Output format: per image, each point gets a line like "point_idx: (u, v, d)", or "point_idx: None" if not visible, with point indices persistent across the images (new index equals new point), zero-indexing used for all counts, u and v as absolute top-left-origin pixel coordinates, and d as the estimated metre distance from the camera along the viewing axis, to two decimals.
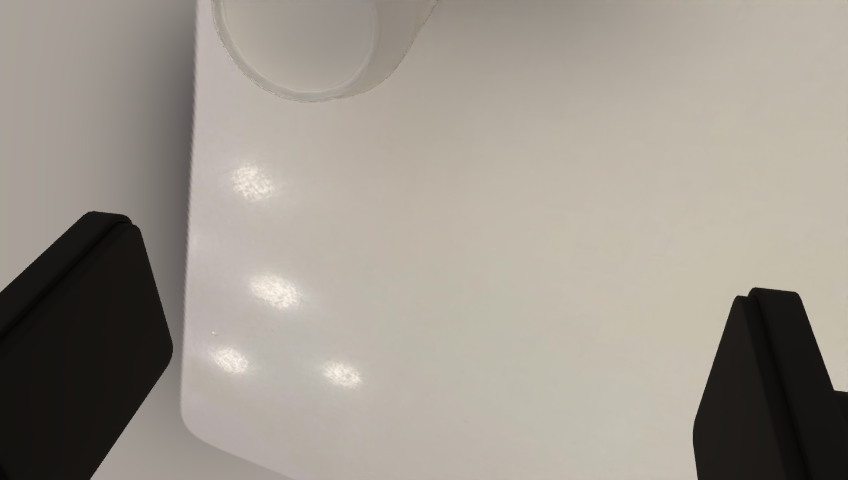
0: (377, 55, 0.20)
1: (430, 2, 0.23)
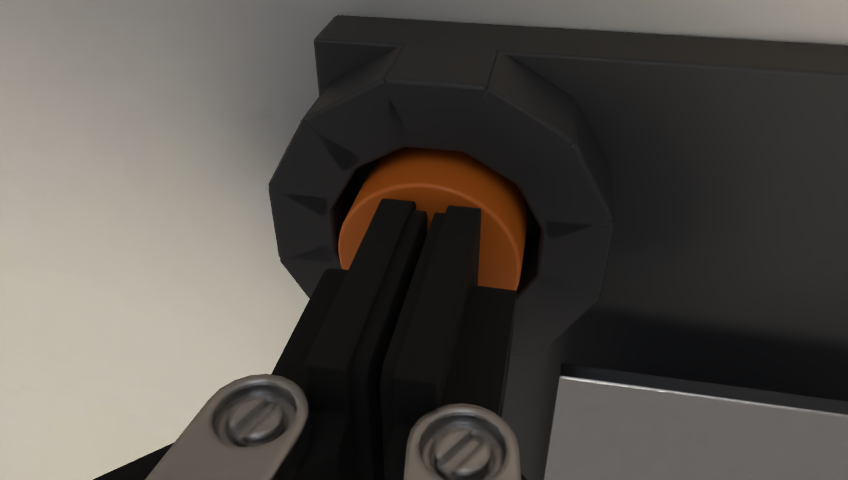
0: None
1: None
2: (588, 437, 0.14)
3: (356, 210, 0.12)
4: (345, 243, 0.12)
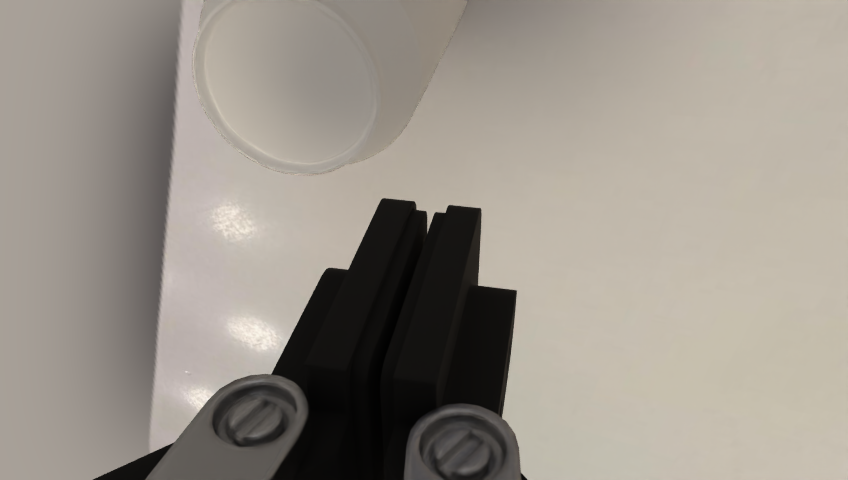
0: (377, 128, 0.18)
1: (436, 62, 0.21)
2: None
3: None
4: None
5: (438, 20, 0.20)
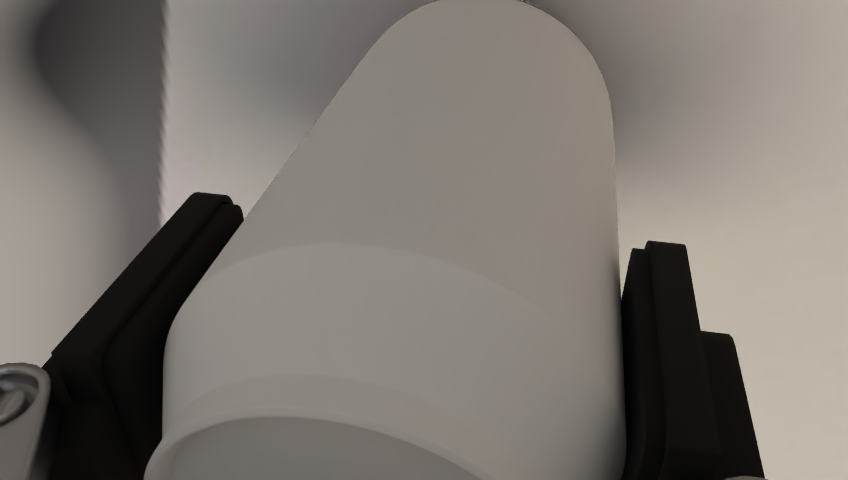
0: None
1: None
2: None
3: None
4: None
5: (620, 300, 0.11)
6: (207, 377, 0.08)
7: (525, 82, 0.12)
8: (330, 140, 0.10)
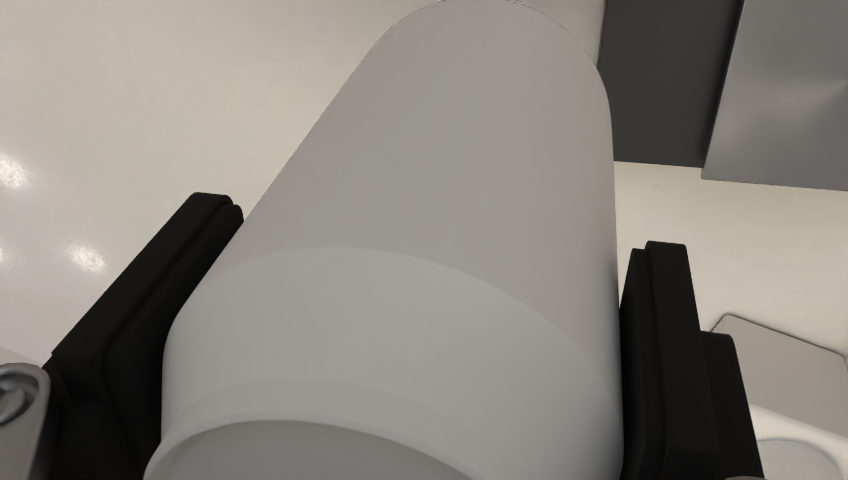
0: None
1: None
2: None
3: None
4: None
5: (618, 302, 0.11)
6: (206, 380, 0.08)
7: (524, 85, 0.12)
8: (329, 143, 0.10)
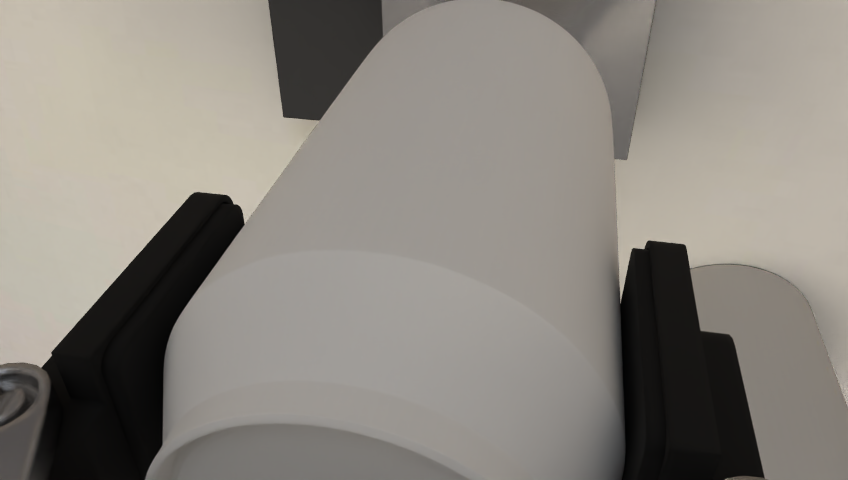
0: None
1: None
2: None
3: None
4: None
5: None
6: (208, 383, 0.08)
7: (525, 87, 0.12)
8: (330, 145, 0.10)
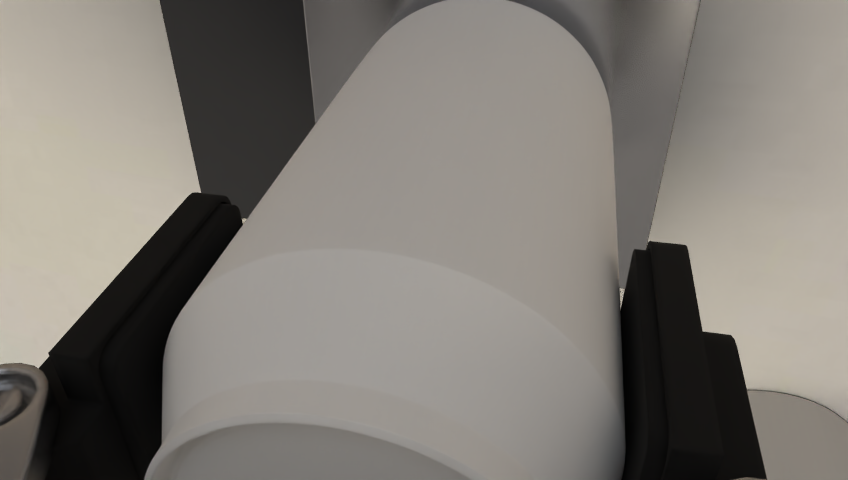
0: None
1: None
2: None
3: None
4: None
5: (619, 303, 0.11)
6: (206, 383, 0.08)
7: (524, 85, 0.12)
8: (329, 144, 0.10)
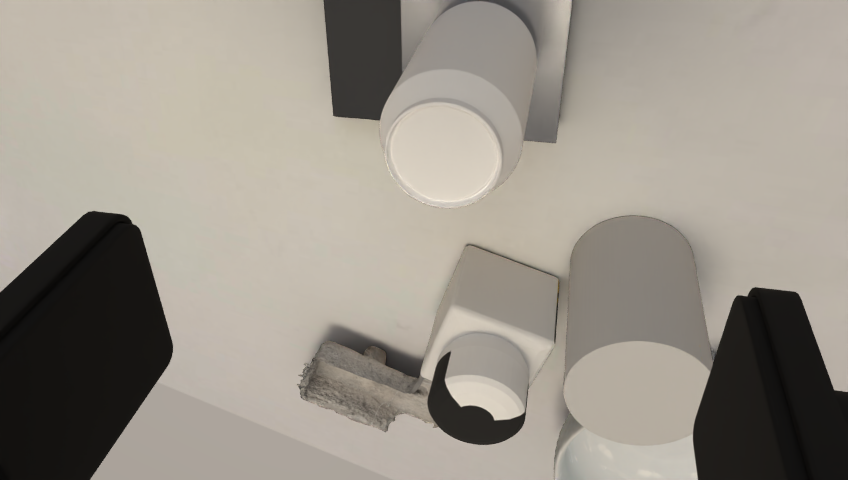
0: None
1: None
2: None
3: None
4: None
5: (526, 104, 0.32)
6: (406, 104, 0.29)
7: (495, 33, 0.33)
8: (430, 50, 0.31)
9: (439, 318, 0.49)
